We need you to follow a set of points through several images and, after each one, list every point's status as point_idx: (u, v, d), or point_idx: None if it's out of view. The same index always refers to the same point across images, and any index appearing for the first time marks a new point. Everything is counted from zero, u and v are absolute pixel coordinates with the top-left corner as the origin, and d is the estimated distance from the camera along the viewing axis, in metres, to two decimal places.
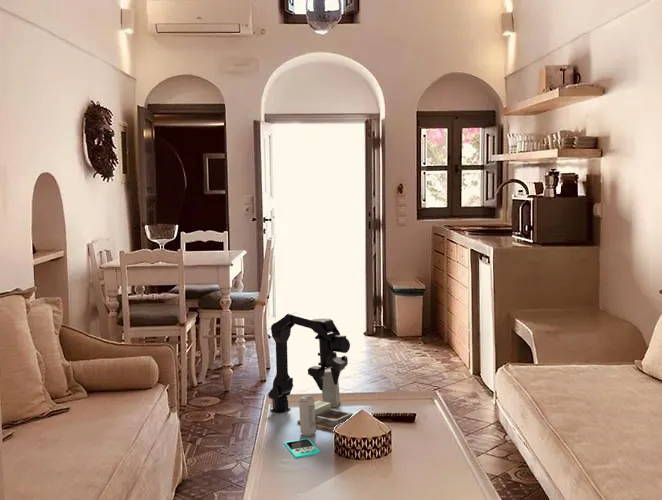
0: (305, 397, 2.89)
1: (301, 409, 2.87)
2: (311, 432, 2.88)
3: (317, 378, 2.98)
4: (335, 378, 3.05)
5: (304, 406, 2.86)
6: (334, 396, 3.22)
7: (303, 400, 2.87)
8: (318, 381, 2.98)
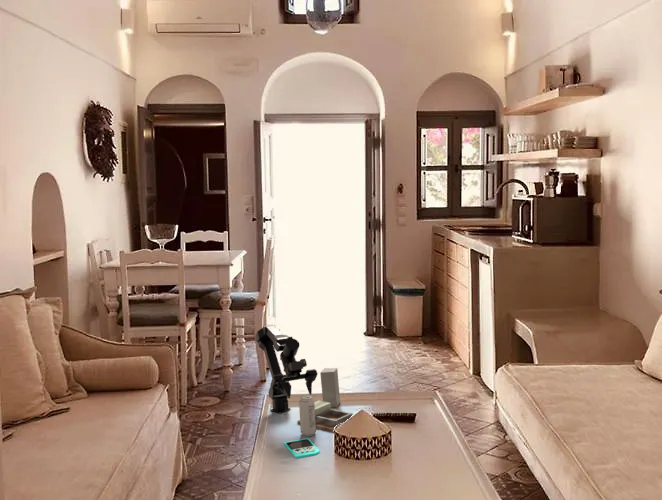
0: (305, 397, 2.89)
1: (301, 409, 2.87)
2: (311, 432, 2.88)
3: (282, 388, 2.97)
4: (309, 388, 2.99)
5: (304, 406, 2.86)
6: (334, 396, 3.22)
7: (303, 400, 2.87)
8: (283, 390, 2.96)
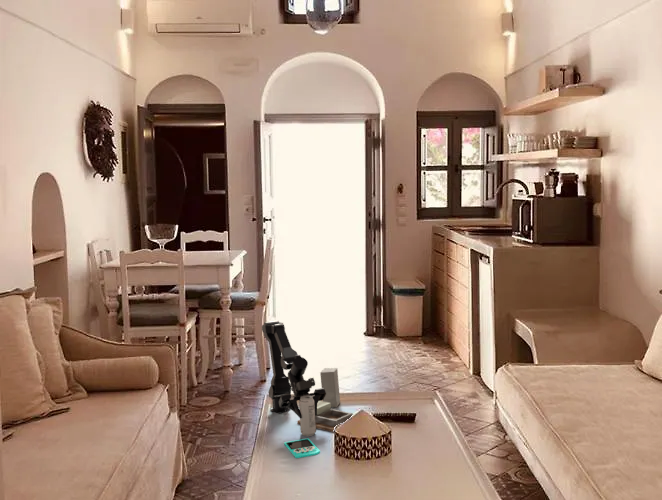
0: (305, 397, 2.89)
1: (301, 409, 2.87)
2: (311, 432, 2.88)
3: (294, 407, 2.90)
4: None
5: (304, 406, 2.86)
6: (334, 396, 3.22)
7: (303, 400, 2.87)
8: (295, 409, 2.89)
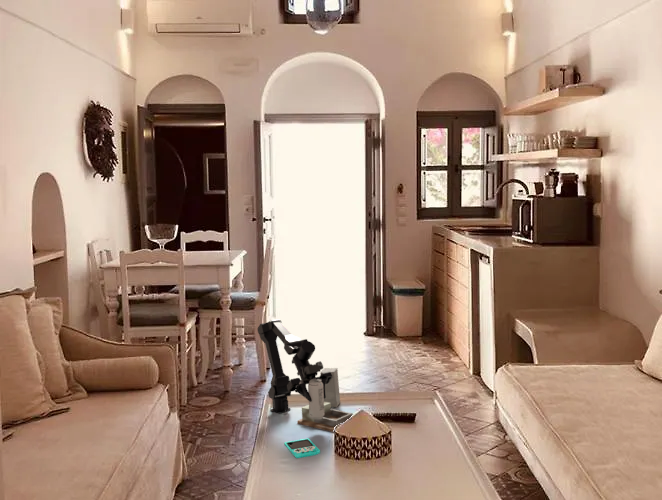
0: (314, 381, 2.91)
1: (311, 392, 2.89)
2: (321, 415, 2.90)
3: (302, 391, 2.92)
4: None
5: (315, 390, 2.89)
6: (334, 396, 3.22)
7: (313, 384, 2.89)
8: (304, 393, 2.91)
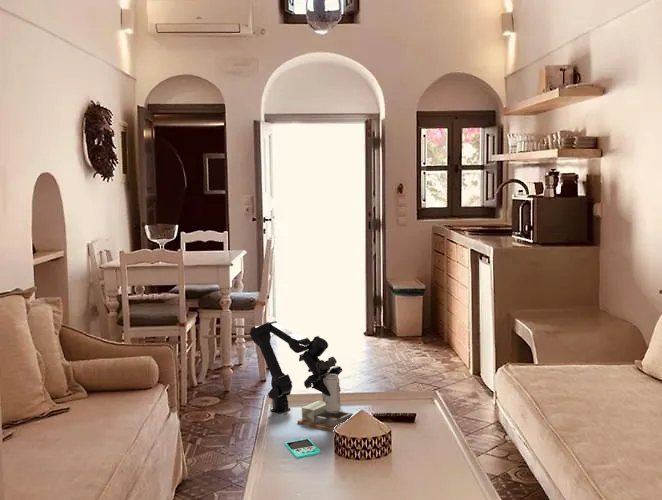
0: (330, 375, 2.99)
1: (329, 387, 2.97)
2: (338, 408, 2.99)
3: (319, 387, 2.98)
4: None
5: (333, 384, 2.97)
6: None
7: (331, 378, 2.97)
8: (322, 388, 2.98)
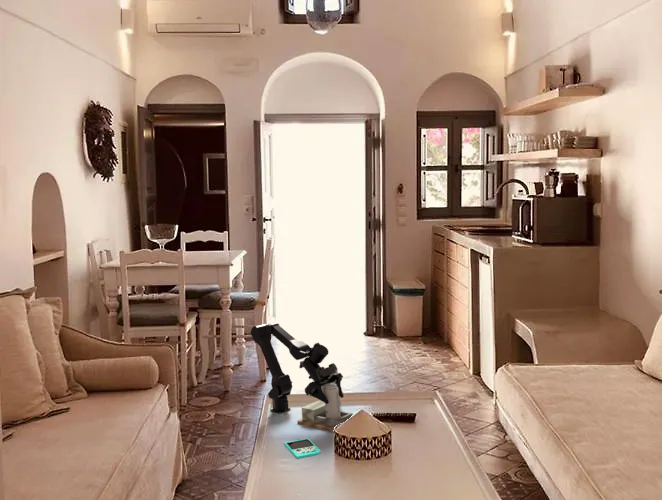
0: (329, 385, 3.00)
1: (329, 397, 2.97)
2: (339, 417, 2.99)
3: (318, 394, 2.97)
4: (339, 392, 3.04)
5: (333, 393, 2.97)
6: None
7: (330, 388, 2.97)
8: (320, 396, 2.97)
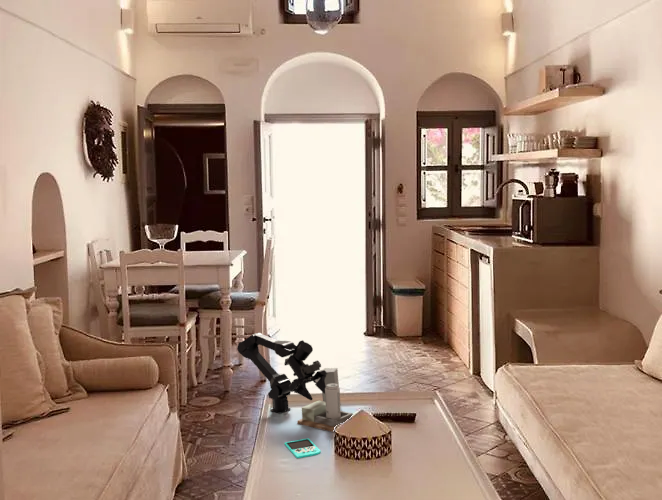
0: (331, 385, 3.00)
1: (330, 397, 2.97)
2: (339, 417, 2.99)
3: (302, 391, 3.03)
4: (323, 388, 3.10)
5: (334, 393, 2.97)
6: None
7: (332, 388, 2.97)
8: (304, 393, 3.03)
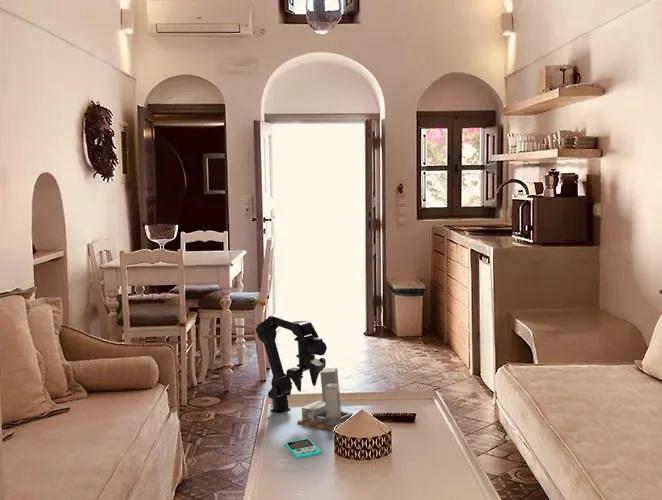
0: (330, 385, 3.00)
1: (329, 397, 2.97)
2: (339, 417, 2.99)
3: (295, 379, 3.03)
4: (314, 379, 3.11)
5: (333, 393, 2.97)
6: None
7: (331, 388, 2.97)
8: (296, 382, 3.03)
